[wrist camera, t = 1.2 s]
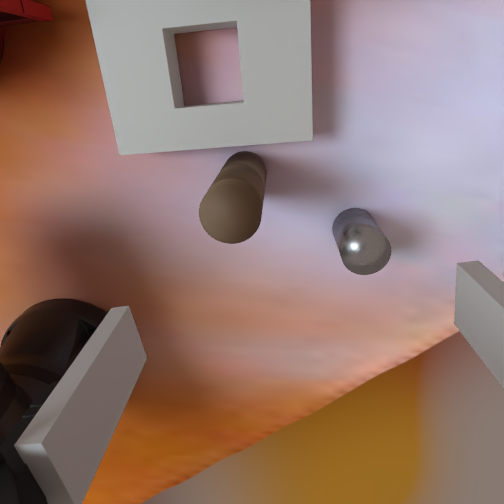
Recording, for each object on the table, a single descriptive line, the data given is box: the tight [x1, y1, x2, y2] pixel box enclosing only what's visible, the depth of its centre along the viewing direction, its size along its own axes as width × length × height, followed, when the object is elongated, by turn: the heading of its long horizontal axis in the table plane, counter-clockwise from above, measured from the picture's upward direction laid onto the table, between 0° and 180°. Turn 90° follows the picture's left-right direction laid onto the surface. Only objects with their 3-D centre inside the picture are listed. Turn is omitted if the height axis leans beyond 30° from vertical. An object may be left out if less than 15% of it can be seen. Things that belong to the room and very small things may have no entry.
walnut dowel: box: [199, 151, 267, 244], centre depth 30 cm, size 4×4×12 cm
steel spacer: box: [332, 208, 391, 275], centre depth 34 cm, size 4×4×6 cm
